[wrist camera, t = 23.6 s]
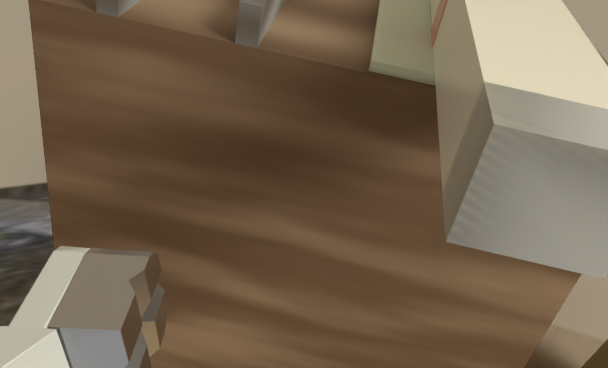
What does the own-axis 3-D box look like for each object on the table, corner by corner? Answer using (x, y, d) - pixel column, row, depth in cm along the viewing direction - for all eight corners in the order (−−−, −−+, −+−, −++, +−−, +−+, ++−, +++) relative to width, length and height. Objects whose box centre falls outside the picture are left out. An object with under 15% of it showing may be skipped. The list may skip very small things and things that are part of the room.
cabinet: (439, 506, 35) (687, 100, 19) (71, 416, 36) (23, -46, 20) (431, 321, 47) (579, -18, 32) (158, 257, 48) (171, -106, 32)
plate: (591, 120, 20) (596, 110, 20) (368, 70, 21) (371, 60, 20) (526, 3, 32) (528, -4, 32) (383, -28, 32) (385, -35, 32)
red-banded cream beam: (604, 279, 13) (680, 165, 11) (443, 242, 13) (492, 122, 11) (493, -7, 31) (515, -67, 29) (428, -21, 31) (445, -82, 29)
